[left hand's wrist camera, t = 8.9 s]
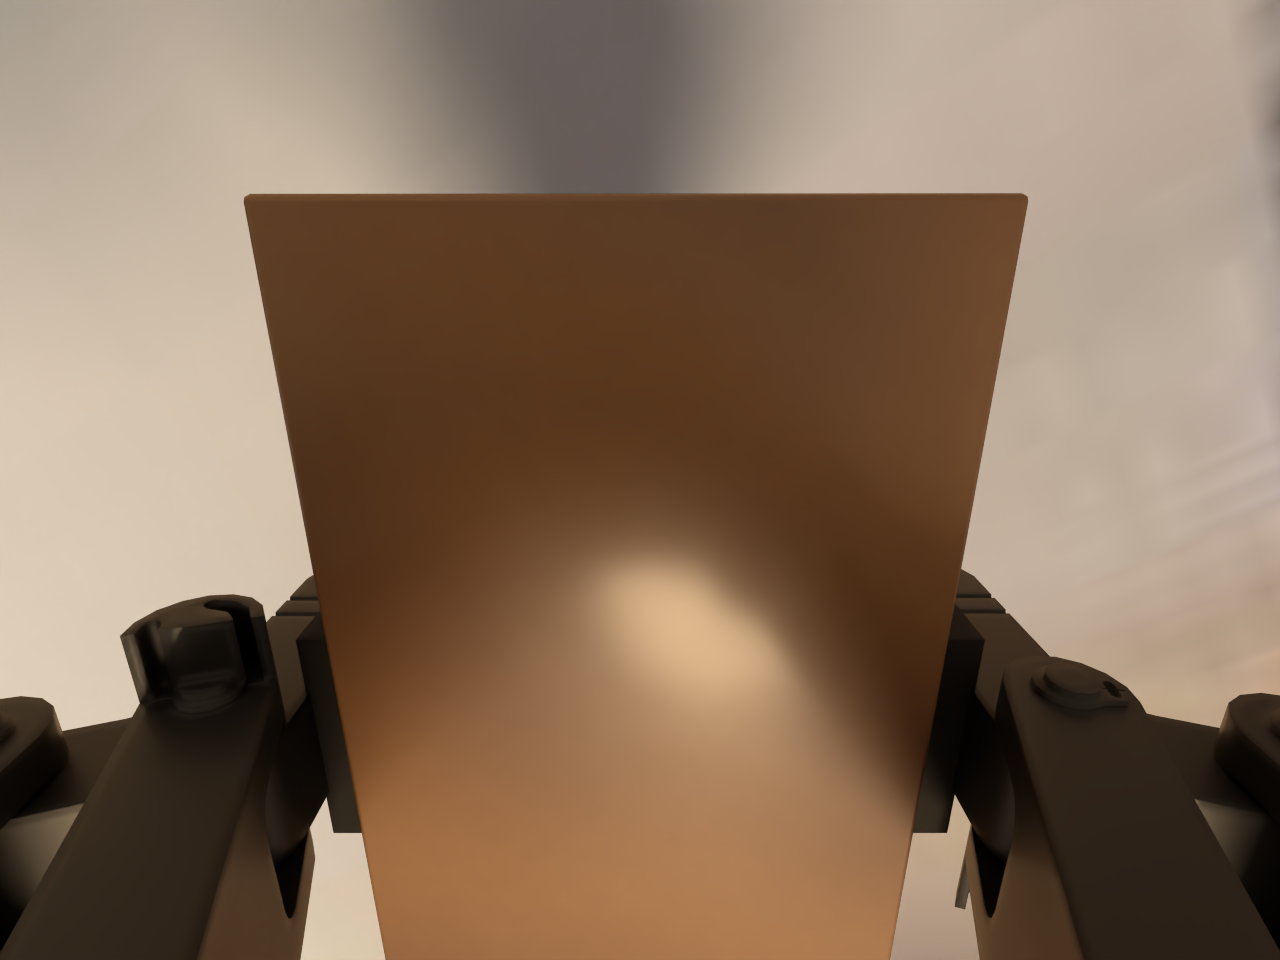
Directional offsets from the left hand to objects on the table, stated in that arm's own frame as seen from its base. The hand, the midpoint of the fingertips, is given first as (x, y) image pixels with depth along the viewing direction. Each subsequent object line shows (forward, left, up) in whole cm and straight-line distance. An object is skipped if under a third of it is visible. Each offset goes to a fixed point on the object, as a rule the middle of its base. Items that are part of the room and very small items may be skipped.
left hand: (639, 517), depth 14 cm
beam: (+25, -18, -1) cm, 31 cm away
